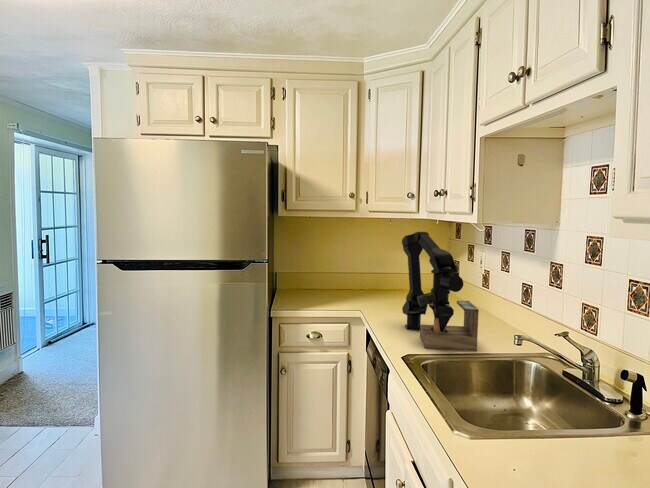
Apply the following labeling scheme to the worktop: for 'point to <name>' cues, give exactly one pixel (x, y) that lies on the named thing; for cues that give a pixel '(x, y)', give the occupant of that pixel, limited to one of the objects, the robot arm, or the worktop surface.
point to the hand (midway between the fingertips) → (439, 328)
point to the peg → (436, 326)
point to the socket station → (454, 332)
